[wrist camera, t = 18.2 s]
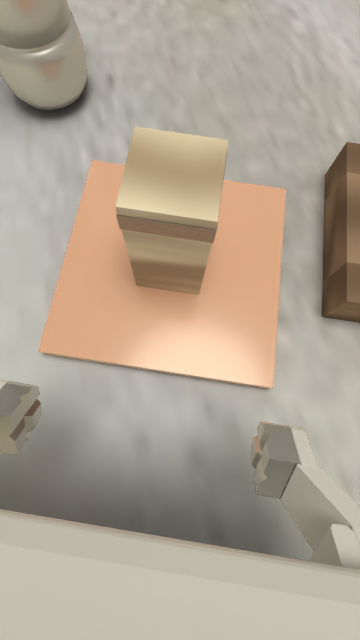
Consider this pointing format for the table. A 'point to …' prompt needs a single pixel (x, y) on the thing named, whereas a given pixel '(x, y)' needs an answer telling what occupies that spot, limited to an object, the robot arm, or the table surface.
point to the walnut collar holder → (342, 237)
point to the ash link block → (171, 206)
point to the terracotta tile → (172, 292)
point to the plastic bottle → (42, 52)
